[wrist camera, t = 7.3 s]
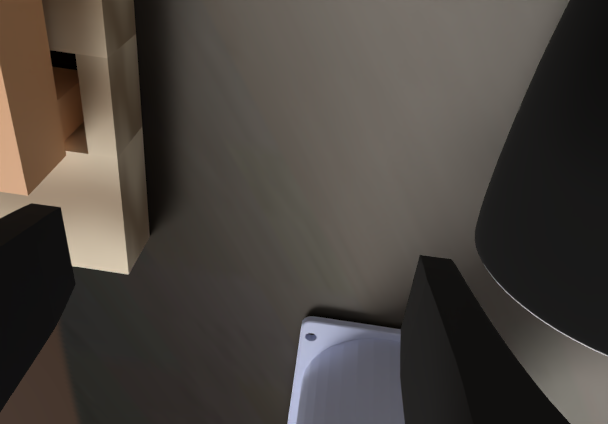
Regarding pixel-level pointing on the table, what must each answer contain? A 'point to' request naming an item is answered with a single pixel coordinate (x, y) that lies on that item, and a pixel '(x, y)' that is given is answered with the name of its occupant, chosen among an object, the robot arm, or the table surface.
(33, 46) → the clip
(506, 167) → the black cylindrical speaker
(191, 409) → the table surface
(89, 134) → the rail
